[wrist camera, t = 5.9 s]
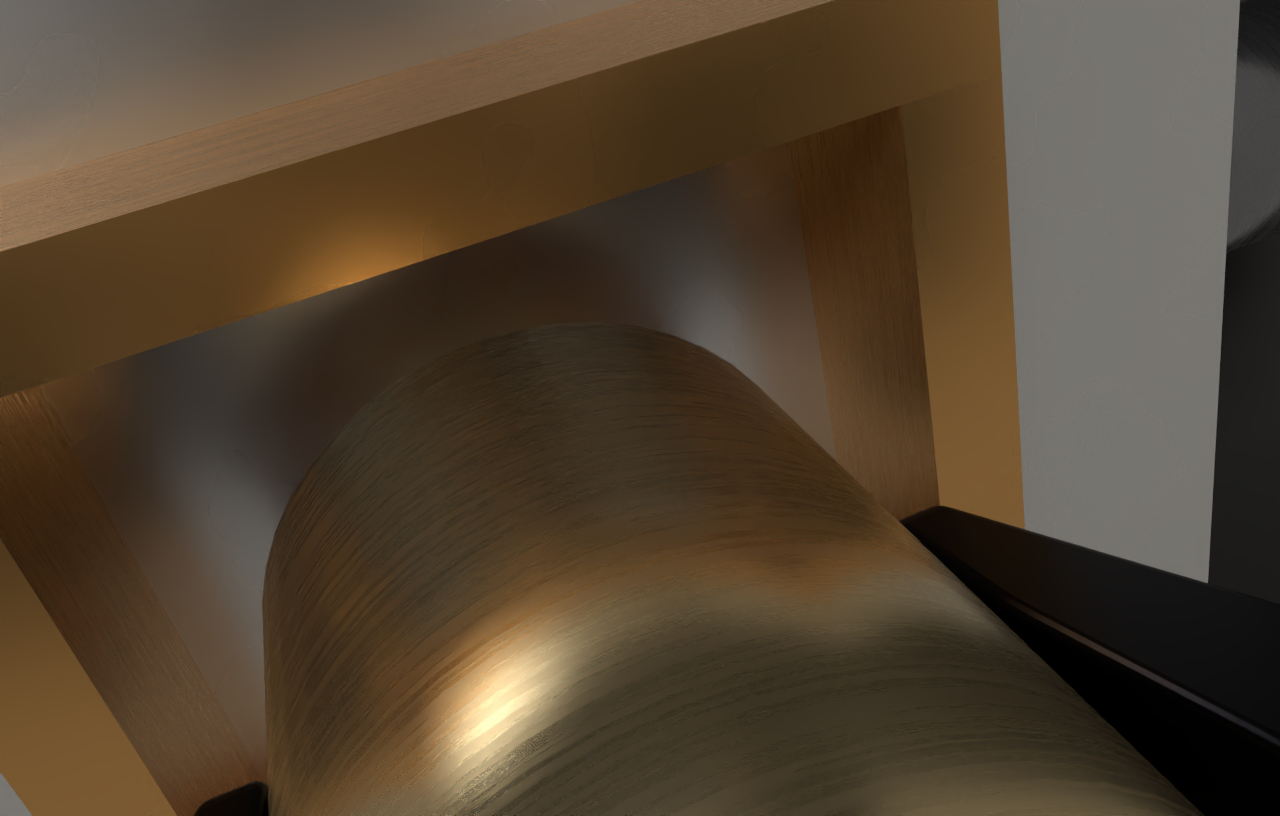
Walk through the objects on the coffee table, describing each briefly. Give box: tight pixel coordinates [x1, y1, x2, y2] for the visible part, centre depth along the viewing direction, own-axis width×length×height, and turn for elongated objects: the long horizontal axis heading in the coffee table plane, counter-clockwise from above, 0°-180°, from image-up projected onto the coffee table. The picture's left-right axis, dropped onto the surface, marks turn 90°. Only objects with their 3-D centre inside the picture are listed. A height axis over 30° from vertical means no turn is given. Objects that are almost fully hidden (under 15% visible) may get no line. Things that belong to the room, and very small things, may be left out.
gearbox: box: [0, 0, 1280, 816], centre depth 12 cm, size 19×14×7 cm
